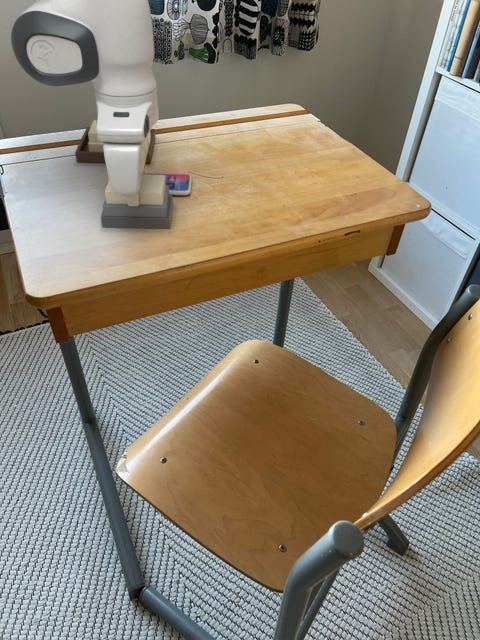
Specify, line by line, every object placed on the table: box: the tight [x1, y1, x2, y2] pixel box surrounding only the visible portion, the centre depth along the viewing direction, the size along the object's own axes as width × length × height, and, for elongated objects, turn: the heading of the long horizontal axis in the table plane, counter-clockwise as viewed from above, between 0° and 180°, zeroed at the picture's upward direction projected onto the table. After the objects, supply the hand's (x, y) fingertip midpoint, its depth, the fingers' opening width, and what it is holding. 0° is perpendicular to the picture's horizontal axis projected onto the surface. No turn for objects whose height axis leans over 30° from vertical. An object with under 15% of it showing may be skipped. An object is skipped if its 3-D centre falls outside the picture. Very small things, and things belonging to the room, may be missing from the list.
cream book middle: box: [88, 119, 103, 143], centre depth 102 cm, size 10×6×2 cm
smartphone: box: [144, 172, 193, 196], centre depth 94 cm, size 7×1×15 cm
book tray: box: [74, 126, 157, 165], centre depth 104 cm, size 14×12×2 cm
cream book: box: [104, 175, 166, 205], centre depth 83 cm, size 9×6×2 cm, turn 92°
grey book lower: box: [100, 194, 174, 230], centre depth 86 cm, size 11×8×2 cm
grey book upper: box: [102, 185, 169, 217], centre depth 85 cm, size 10×8×2 cm
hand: (136, 192), depth 84 cm, fingers closed on cream book, 6 cm apart
